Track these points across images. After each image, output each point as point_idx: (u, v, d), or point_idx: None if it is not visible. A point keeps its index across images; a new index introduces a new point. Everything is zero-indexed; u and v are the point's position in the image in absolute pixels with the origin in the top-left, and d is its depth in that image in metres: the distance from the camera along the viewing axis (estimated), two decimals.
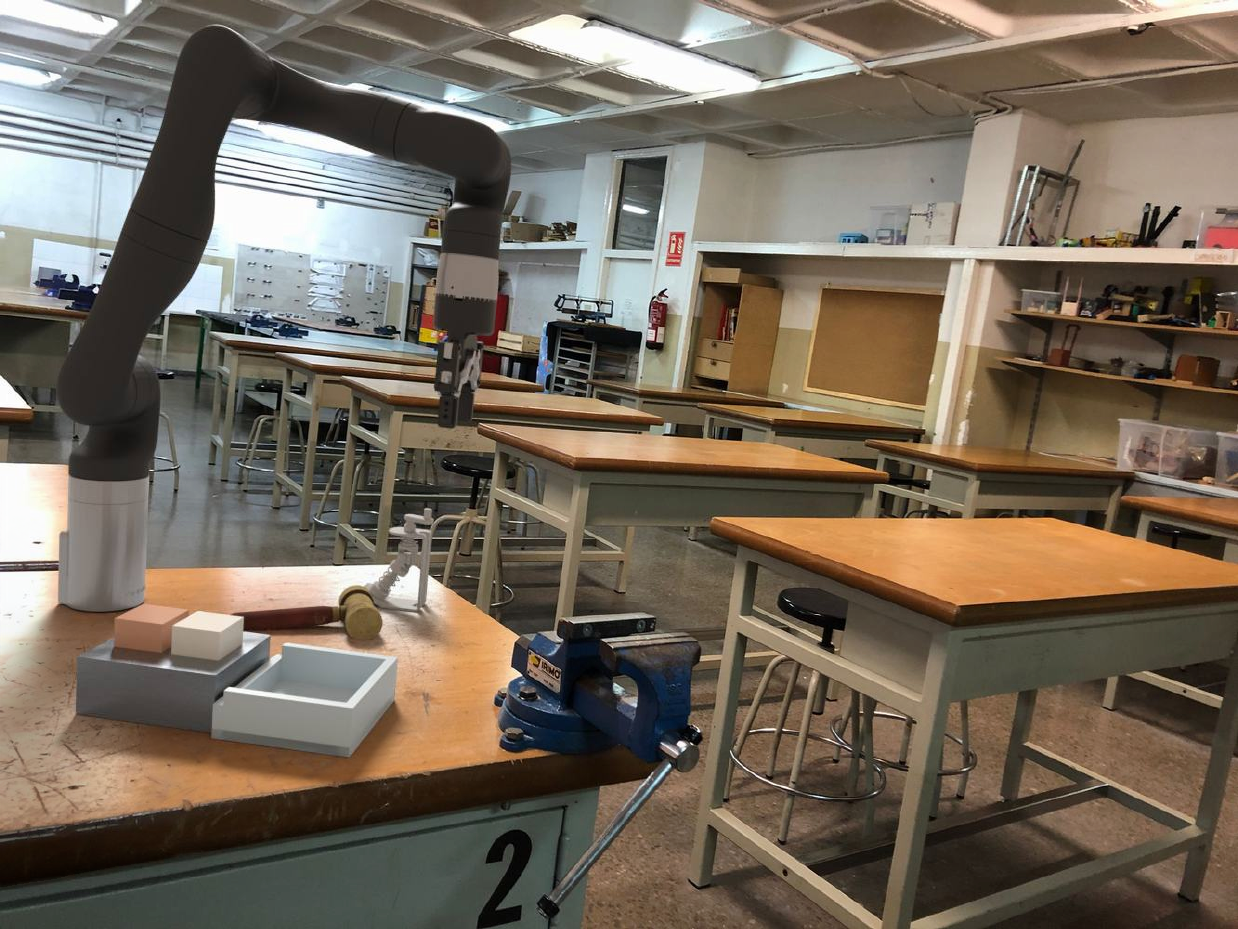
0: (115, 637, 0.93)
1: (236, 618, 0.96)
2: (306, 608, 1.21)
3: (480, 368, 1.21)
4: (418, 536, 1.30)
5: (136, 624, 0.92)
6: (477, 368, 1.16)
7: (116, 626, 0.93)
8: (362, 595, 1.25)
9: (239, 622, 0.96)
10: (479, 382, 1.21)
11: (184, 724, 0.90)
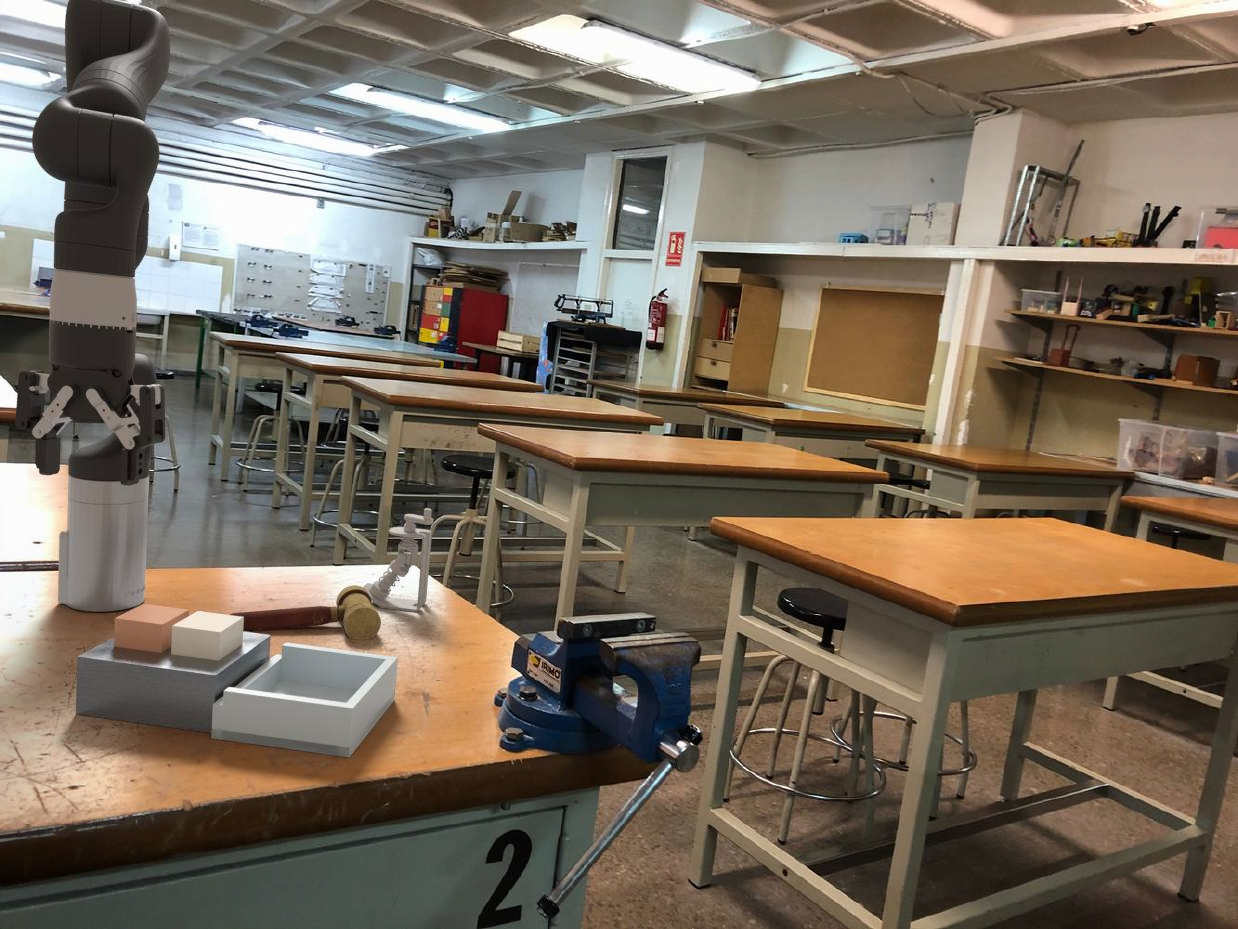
0: (115, 637, 0.93)
1: (236, 618, 0.96)
2: (304, 608, 1.20)
3: None
4: (418, 536, 1.30)
5: (136, 624, 0.92)
6: None
7: (116, 626, 0.93)
8: (360, 595, 1.25)
9: (239, 622, 0.96)
10: None
11: (184, 724, 0.90)
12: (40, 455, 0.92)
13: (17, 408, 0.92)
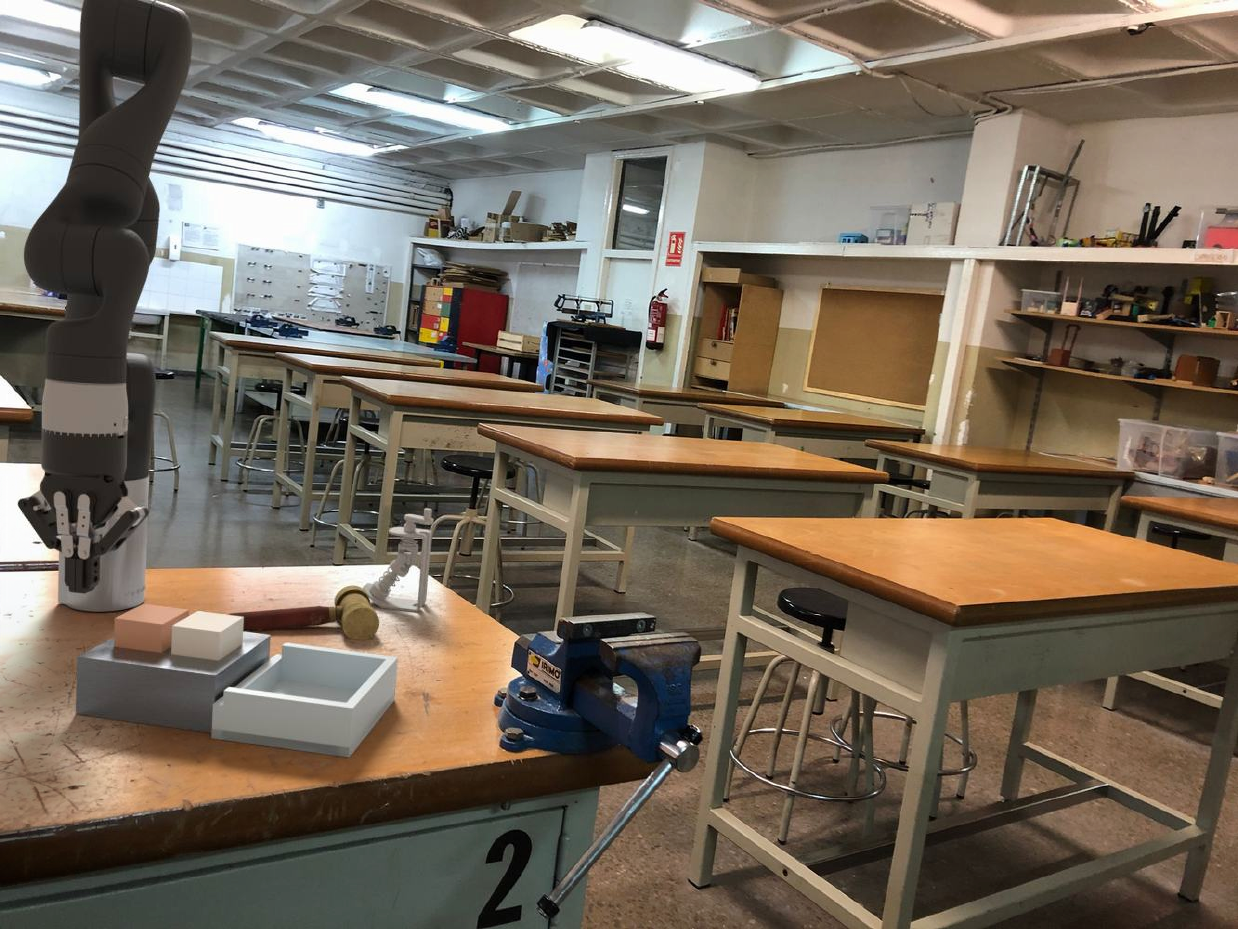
0: (115, 637, 0.93)
1: (236, 618, 0.96)
2: (302, 608, 1.20)
3: None
4: (418, 536, 1.30)
5: (136, 624, 0.92)
6: None
7: (116, 626, 0.93)
8: (358, 595, 1.24)
9: (239, 622, 0.96)
10: None
11: (184, 724, 0.90)
12: (69, 574, 0.94)
13: (38, 533, 0.93)
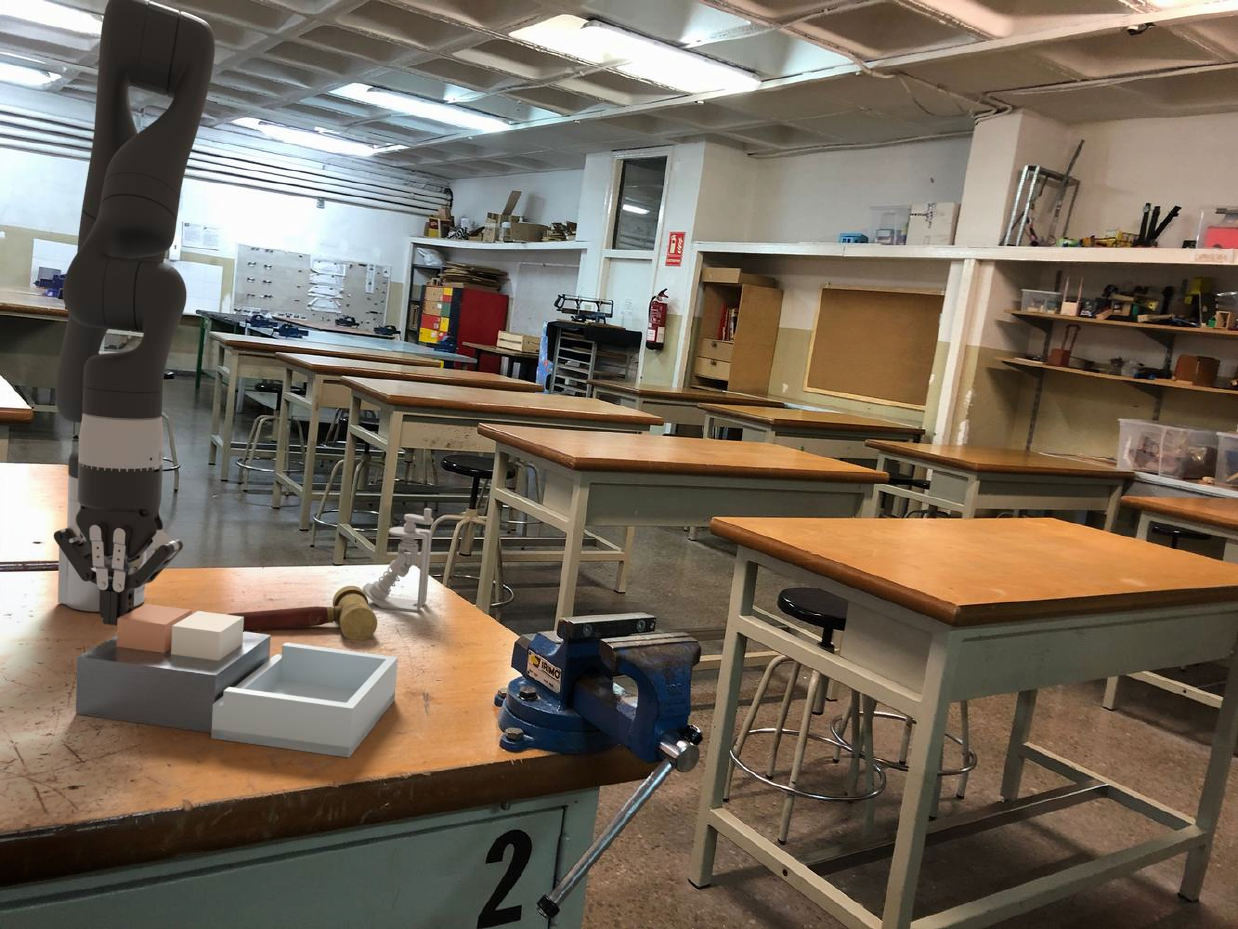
0: (117, 637, 0.93)
1: (236, 618, 0.96)
2: (300, 608, 1.20)
3: None
4: (418, 536, 1.30)
5: (139, 624, 0.92)
6: None
7: (119, 626, 0.93)
8: (356, 595, 1.24)
9: (239, 622, 0.96)
10: None
11: (184, 724, 0.90)
12: (104, 606, 0.94)
13: (73, 565, 0.93)
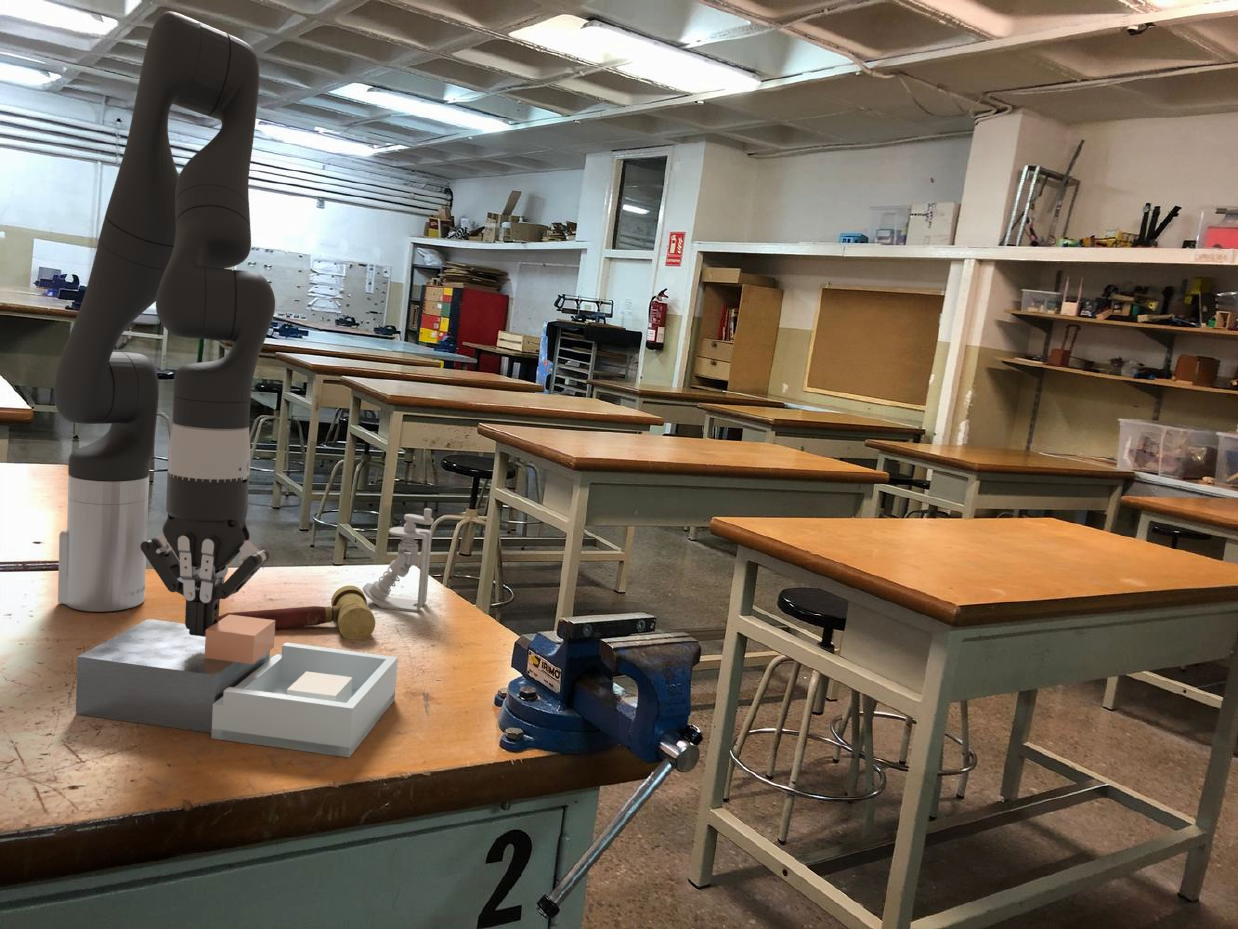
0: (205, 648, 0.92)
1: None
2: (298, 608, 1.20)
3: None
4: (418, 536, 1.30)
5: (228, 636, 0.92)
6: None
7: (207, 638, 0.92)
8: (355, 595, 1.24)
9: None
10: None
11: (184, 724, 0.90)
12: (190, 617, 0.93)
13: (160, 576, 0.93)
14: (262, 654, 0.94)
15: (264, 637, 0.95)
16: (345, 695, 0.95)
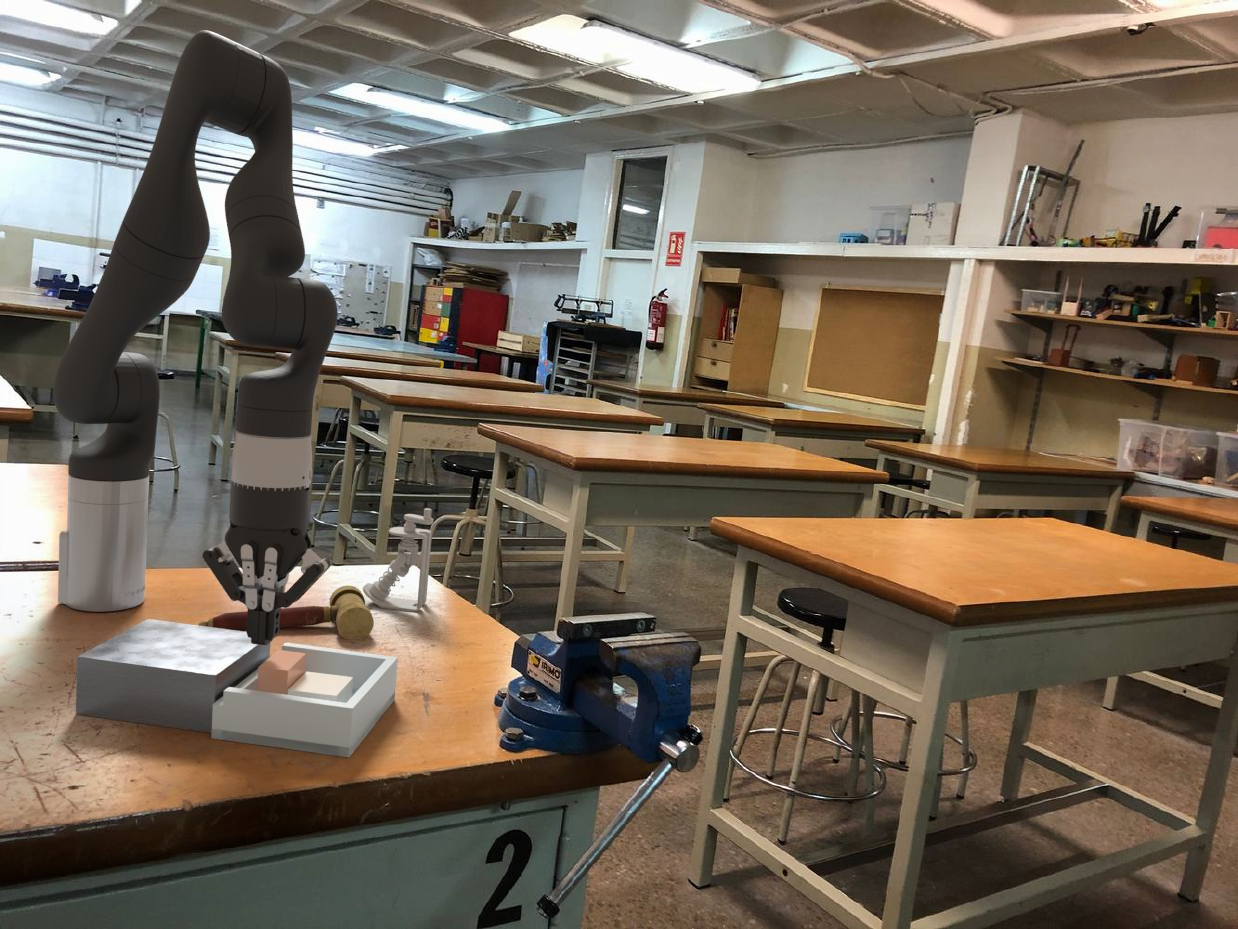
0: (268, 669, 0.92)
1: None
2: (296, 608, 1.20)
3: None
4: (418, 536, 1.30)
5: (283, 692, 0.92)
6: None
7: (279, 671, 0.92)
8: (353, 595, 1.24)
9: None
10: None
11: (184, 724, 0.90)
12: (252, 626, 0.93)
13: (222, 585, 0.93)
14: None
15: None
16: (346, 695, 0.95)
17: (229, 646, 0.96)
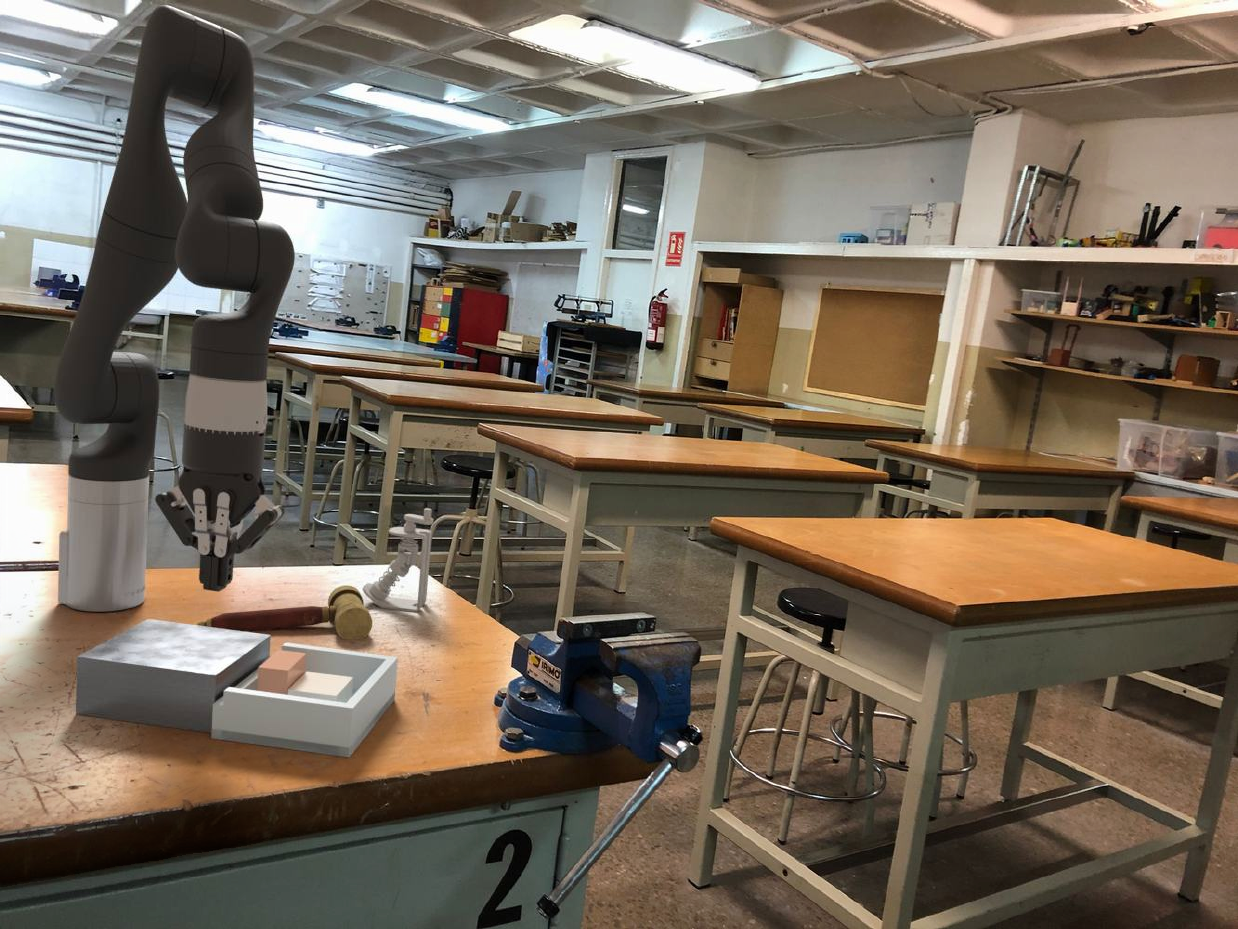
0: (268, 669, 0.92)
1: None
2: (295, 608, 1.20)
3: None
4: (418, 536, 1.30)
5: (283, 692, 0.92)
6: None
7: (279, 671, 0.92)
8: (352, 595, 1.24)
9: None
10: None
11: (184, 724, 0.90)
12: (204, 571, 0.92)
13: (175, 529, 0.92)
14: None
15: None
16: (346, 695, 0.95)
17: (229, 646, 0.96)
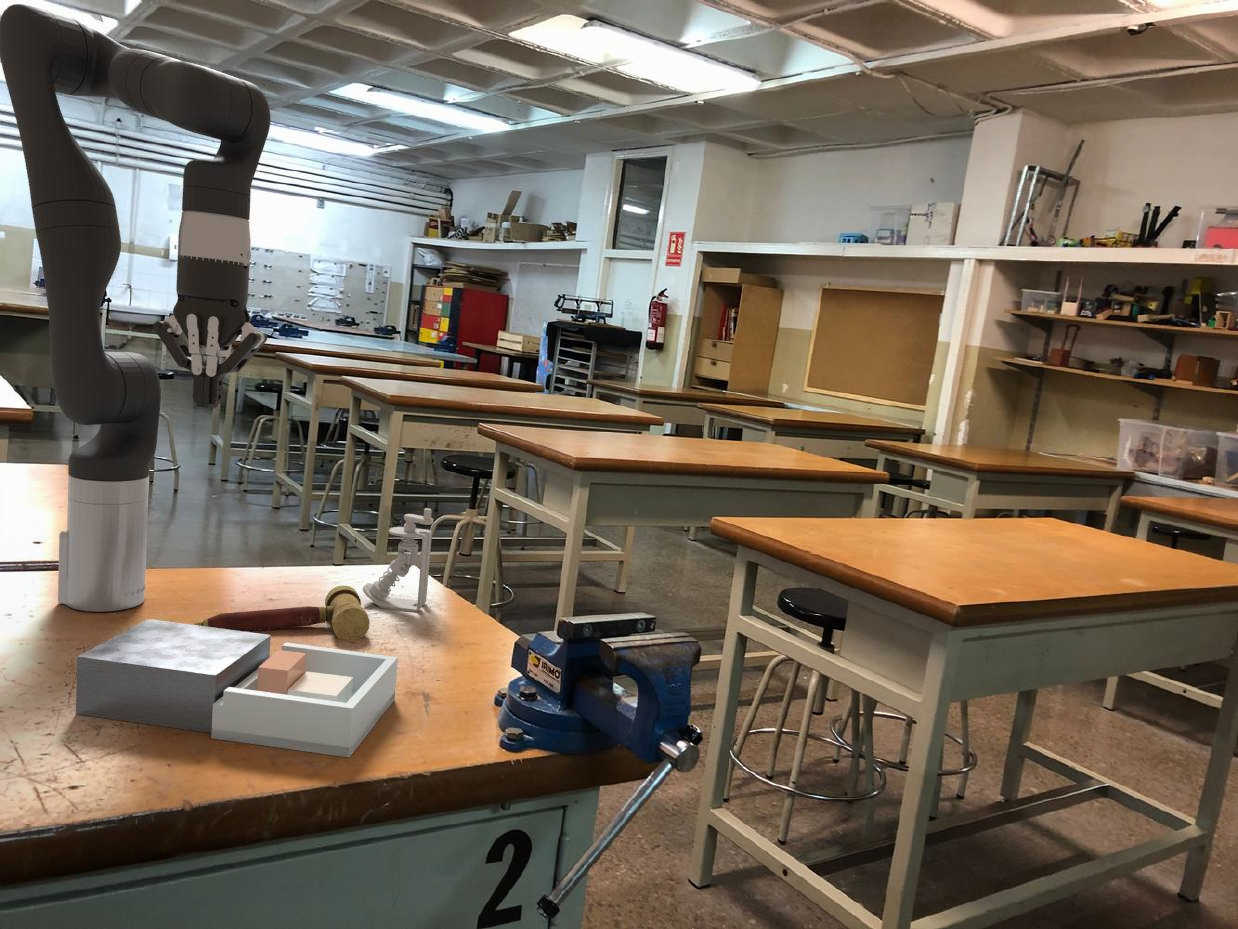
0: (268, 669, 0.92)
1: None
2: (292, 608, 1.20)
3: None
4: (418, 536, 1.30)
5: (283, 692, 0.92)
6: None
7: (279, 671, 0.92)
8: (349, 595, 1.24)
9: None
10: None
11: (184, 724, 0.90)
12: (198, 390, 1.06)
13: (171, 353, 1.05)
14: None
15: None
16: (346, 695, 0.95)
17: (229, 646, 0.96)
